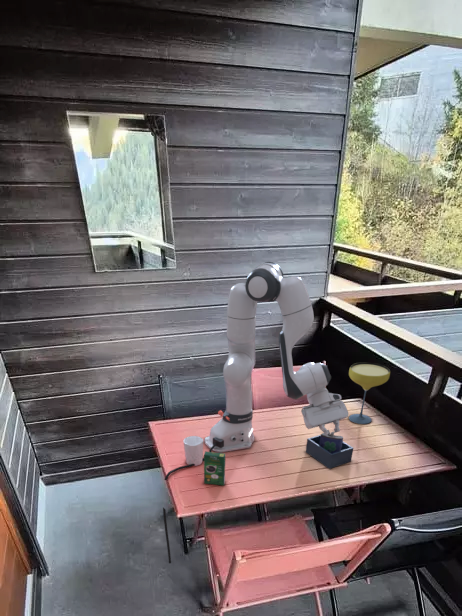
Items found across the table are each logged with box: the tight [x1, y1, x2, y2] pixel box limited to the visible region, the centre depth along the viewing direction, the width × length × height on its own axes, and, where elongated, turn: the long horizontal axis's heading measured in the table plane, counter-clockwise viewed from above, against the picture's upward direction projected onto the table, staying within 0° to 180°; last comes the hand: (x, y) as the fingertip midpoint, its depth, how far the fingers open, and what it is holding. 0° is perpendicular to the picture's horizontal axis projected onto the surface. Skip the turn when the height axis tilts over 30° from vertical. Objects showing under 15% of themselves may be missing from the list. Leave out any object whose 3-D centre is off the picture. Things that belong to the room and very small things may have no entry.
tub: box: [305, 434, 354, 470], centre depth 184 cm, size 12×16×6 cm
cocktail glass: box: [348, 362, 391, 425], centre depth 208 cm, size 18×18×25 cm
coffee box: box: [203, 451, 226, 486], centre depth 166 cm, size 8×3×13 cm, turn 80°
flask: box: [320, 431, 344, 454], centre depth 182 cm, size 9×3×11 cm, turn 70°
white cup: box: [182, 435, 204, 467], centre depth 179 cm, size 8×8×10 cm
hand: (332, 433), depth 179 cm, fingers open, 4 cm apart
